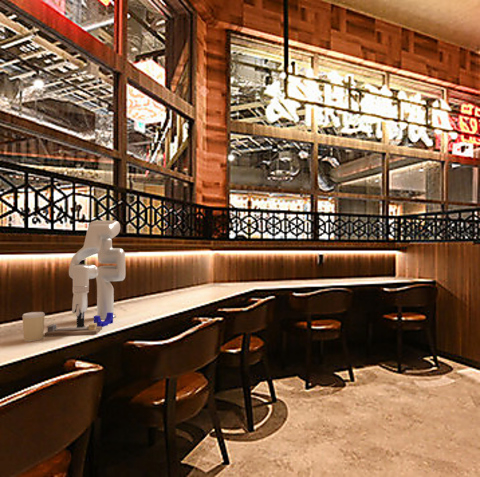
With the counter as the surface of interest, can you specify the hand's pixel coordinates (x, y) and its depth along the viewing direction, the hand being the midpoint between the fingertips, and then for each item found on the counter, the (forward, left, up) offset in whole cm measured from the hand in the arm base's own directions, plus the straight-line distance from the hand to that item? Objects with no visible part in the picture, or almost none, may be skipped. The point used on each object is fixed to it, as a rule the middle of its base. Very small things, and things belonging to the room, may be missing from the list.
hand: (80, 326), depth 185 cm
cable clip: (-18, +8, -4) cm, 20 cm away
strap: (-1, -4, -1) cm, 5 cm away
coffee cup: (+10, -18, -3) cm, 21 cm away
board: (-1, -3, -3) cm, 5 cm away
